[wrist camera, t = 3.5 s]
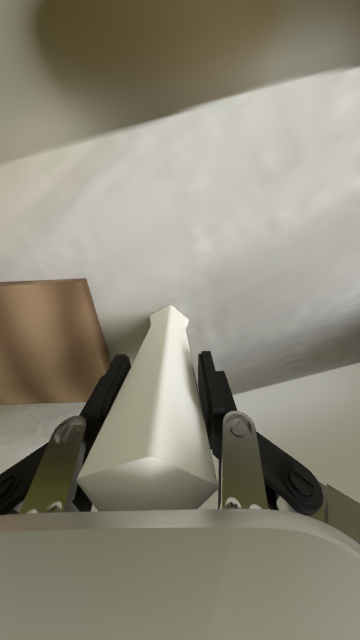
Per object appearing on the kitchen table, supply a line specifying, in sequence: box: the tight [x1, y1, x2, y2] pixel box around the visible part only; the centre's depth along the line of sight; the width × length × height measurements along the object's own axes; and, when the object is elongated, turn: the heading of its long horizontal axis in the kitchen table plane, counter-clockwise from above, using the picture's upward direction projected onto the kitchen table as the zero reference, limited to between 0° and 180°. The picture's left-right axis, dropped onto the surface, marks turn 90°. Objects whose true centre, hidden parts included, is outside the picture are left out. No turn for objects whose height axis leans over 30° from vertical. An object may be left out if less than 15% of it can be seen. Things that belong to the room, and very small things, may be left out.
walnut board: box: [0, 279, 111, 405], centre depth 17 cm, size 16×14×2 cm
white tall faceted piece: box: [76, 305, 218, 511], centre depth 10 cm, size 5×4×15 cm
